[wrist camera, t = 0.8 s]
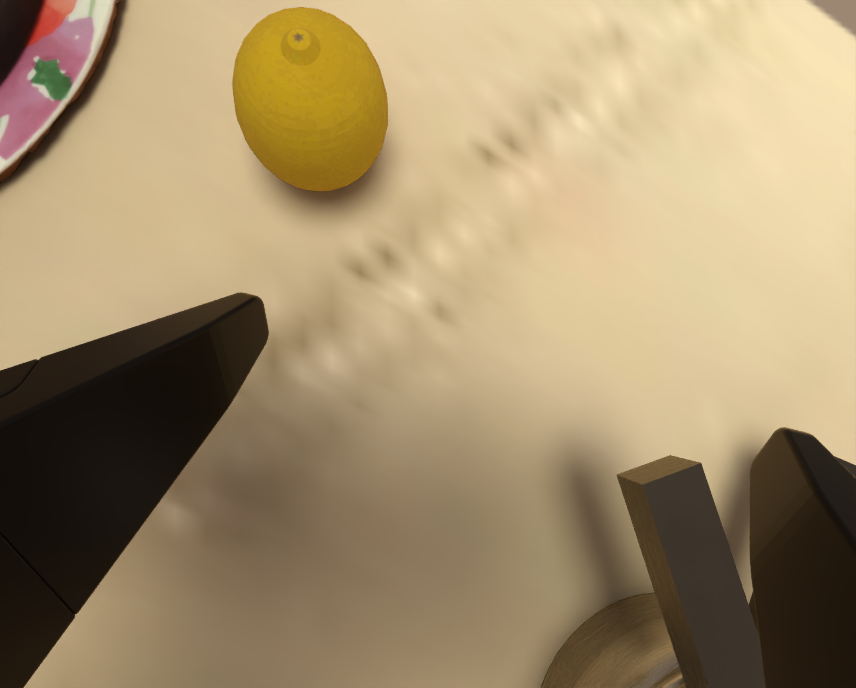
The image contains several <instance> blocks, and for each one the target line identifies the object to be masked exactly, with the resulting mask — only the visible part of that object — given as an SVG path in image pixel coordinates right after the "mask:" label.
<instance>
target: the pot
mask: <svg viewBox="0 0 856 688" xmlns="http://www.w3.org/2000/svg"><path fill="white" fill-rule="evenodd" d="M834 457H835V456H834ZM835 458H836V459H837V460H838V461H839V462H840V463H841V464H842V465H843V466H844V467H845V468H846V469H847V470H848V471H849V472H850V473H851V474H852V475H853V476H854V477H855V478H856V465H854V464H851V463H849V462H847V461H844V460H842V459H840V458H837V457H835ZM749 608H750V611H751V614H752V617H753V620H754V623H755V626H756V629H757V632H758V626H757V618H756V610H755V602H754V594H753V593H752V596H751V599H750V603H749ZM758 635H759V634H758ZM683 683H684V680H683V677H682V674H681V671H680V667H679V664H678V661H677V658H676V655H675V652H674V649H673V646H672V643H671V640H670V637H669V634H668V631H667V628H666V625H665V622H664V619H663V615H662V612H661V609H660V606H659V603H658V600H657V597H656V594H655V593H650V594H642V595H638V596H634V597H631V598H627V599H624V600H622V601H619V602H617V603H615V604H612V605H610V606H608V607H607V608H605V609H603V610H602V611H600V612H598V613H597V614H595V615H594V616H593V617H591V618H590V619H589V620H588V621H586V622H585V623H584V624H583V625H581V626H580V627H579V628H578V629H577V631H576V632H575V633H574V634H573V635H572V636H571V637H570V638H569V639H568V640H567V642H566V643H565V644H564V646H563V647H562V648H561V650H560V651H559V652H558V654H557V656H556V657H555V659H554V661H553V663H552V664H551V666H550V668H549V670H548V672H547V675H546V677H545V679H544V682H543V684H542V687H541V688H677V687H679V686H680V685H682V684H683Z"/></svg>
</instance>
